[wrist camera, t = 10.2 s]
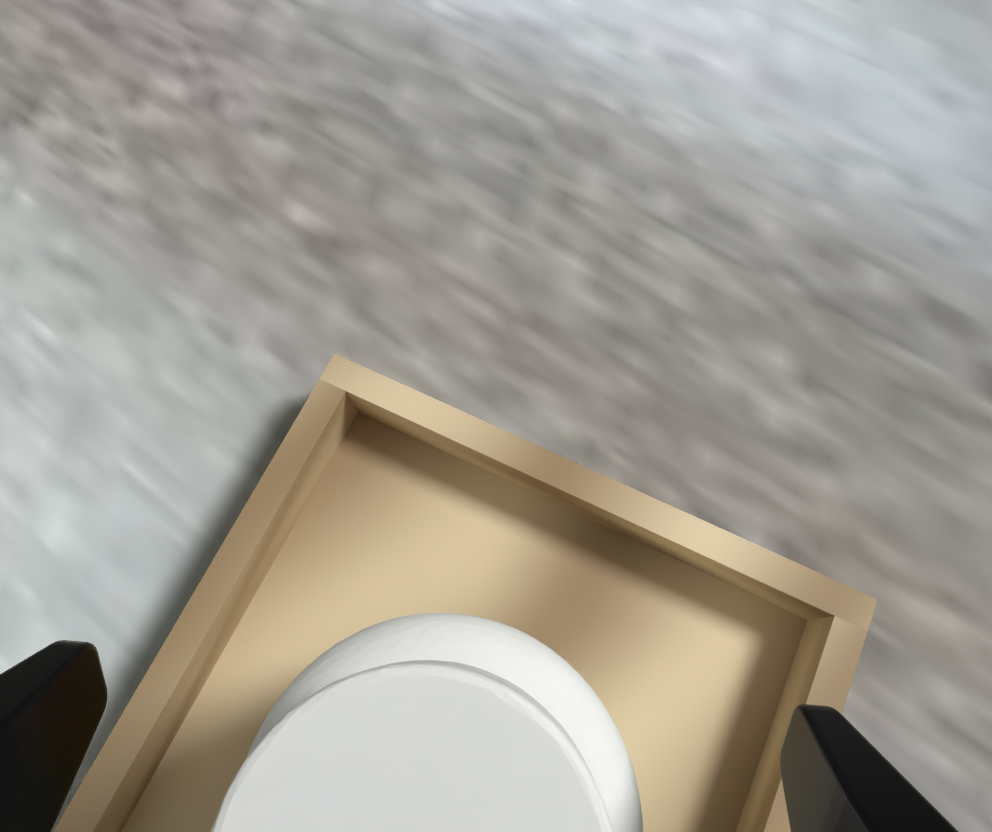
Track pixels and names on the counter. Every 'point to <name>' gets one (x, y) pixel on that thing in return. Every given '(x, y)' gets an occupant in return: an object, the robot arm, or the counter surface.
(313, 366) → the counter surface
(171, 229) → the counter surface
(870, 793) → the robot arm
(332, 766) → the supplement bottle
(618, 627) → the tray
